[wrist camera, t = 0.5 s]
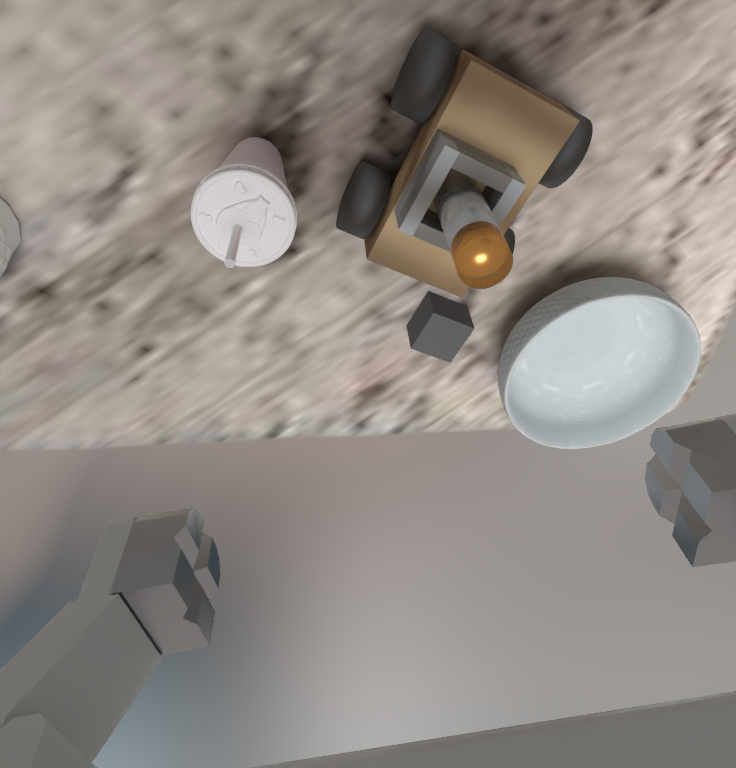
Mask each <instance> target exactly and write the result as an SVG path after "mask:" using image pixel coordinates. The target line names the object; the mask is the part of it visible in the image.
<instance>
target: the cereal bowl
mask: <svg viewBox="0 0 736 768" xmlns="http://www.w3.org/2000/svg"><path fill="white" fill-rule="evenodd" d="M700 356H701V342H700V336H699V333H698V330H697V327H696V325H695V323H694V322H693V320H692V319H691V317H690V315H689V314H688V313H687V312H686V311H685V310H684V309H683V308H682V307H681V306H680V305H679V304H678V303H677V302H676V301H675V300H673V299H672V298H671V297H670V296H669V295H667V294H666V293H664V292H663V291H661V290H659V289H658V288H656V287H654V286H651V285H649V284H648V283H644V282H641V281H639V280H633V279H631V278H622V277H601V278H594V279H588V280H584V281H580V282H577V283H574V284H570V285H569V286H566V287H564V288H561V289H559V290H558V291H555V292H554V293H552V294H549V295H548V296H547V297H545V298H544V299H542V300H540V301H539V302H538V303H536V304H535V305H534V306H532V308H531V309H530V310H528V311H527V312H526V313H525V314H524V315H523V317H522V318H521V319H520V320H519V321H518V322H517V324H516V325H515V327H514V328H513V329H512V331H511V333H510V334H509V336H508V338H507V340H506V341H505V344H504V347H503V349H502V352H501V356H500V361H499V365H498V383H499V384H498V386H499V390H500V395H501V399H502V402H503V405H504V408H505V410H506V413H507V415H508V417H509V419H510V420H511V422H512V424H513V425H514V426H515V427H516V429H517V430H518V431H520V432H521V433H522V434H523V435H524V436H526V437H527V438H529V439H531V440H533V441H535V442H537V443H539V444H542V445H545V446H550V447H555V448H564V449H577V448H578V449H579V448H588V447H595V446H599V445H605V444H608V443H612V442H615V441H617V440H620V439H623V438H626V437H628V436H630V435H632V434H634V433H636V432H638V431H640V430H642V429H644V428H645V427H647V426H649V425H650V424H652V423H653V422H655V421H656V420H658V419H659V418H660V417H662V416H663V415H664V414H665V413H666V412H668V411H669V410H670V409H671V408H672V407H673V406H674V405H675V404H676V403H677V402H678V401H679V399H680V398H681V397H682V396H683V394H684V393H685V392H686V390H687V389H688V387H689V386H690V384H691V382H692V380H693V378H694V376H695V374H696V371H697V369H698V366H699V362H700Z"/></svg>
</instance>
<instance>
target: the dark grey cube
mask: <svg viewBox="0 0 736 768" xmlns="http://www.w3.org/2000/svg"><path fill="white" fill-rule="evenodd" d="M474 329H475V328H474V325H473V323H472V320H471V317H470V314H469V311H468V308H467V306H464V305H462V304H459V303H457V302H454V301H452V300H449V299H447V298H444V297H442V296H439V295H437V294H434V293H432V292H429V291H428V292H427V294H426V296H425V297H424V299H423V300H422V302H421V304H420V305H419V307H418V308H417V310H416V312H415V313H414V315H413V317H412V318H411V320H410V321H409V323H408V325H407V330H408V336H409V341H410V347H411V349H414V350H417V351H420V352H422V353H425V354H428V355H431V356H433V357H436V358H439V359H442V360H445V361H447V362H451V361H452V360H453V358H454V357H455V355H456V354H457V353H458V351H459V350H460V348H461V347H462V346H463V344H464V343H465V341H466V340H467V338H468V337H469V336H470V334H471V333H472V331H473V330H474Z"/></svg>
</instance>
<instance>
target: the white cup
mask: <svg viewBox="0 0 736 768" xmlns="http://www.w3.org/2000/svg"><path fill="white" fill-rule="evenodd" d="M20 241H21V237H20V227H19V222H18V220H17V219H16V217H15V215H14V214H13V212H12V210H11V209H10V207H9V205H8V204H7V203H6V202H4V201H3V200H2V199H1V198H0V278H1V275H2V273H3V272H4V271H5V269H6V267H7V264H8V261H9V260H10V259H11V257H12V256H13V254H14V252H15V250H16V249H17V247H18V245H19V243H20Z"/></svg>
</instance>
